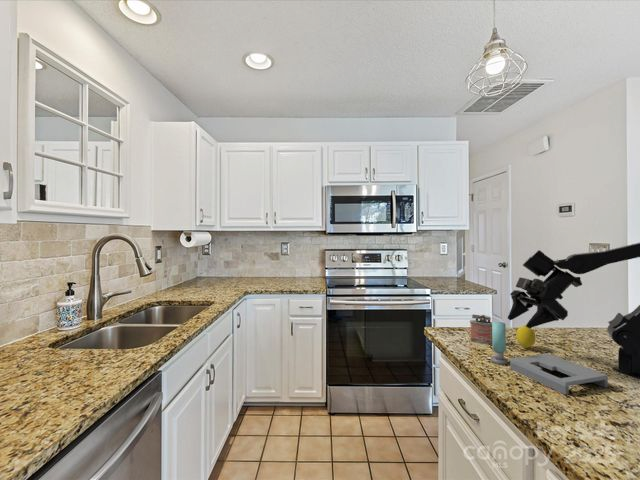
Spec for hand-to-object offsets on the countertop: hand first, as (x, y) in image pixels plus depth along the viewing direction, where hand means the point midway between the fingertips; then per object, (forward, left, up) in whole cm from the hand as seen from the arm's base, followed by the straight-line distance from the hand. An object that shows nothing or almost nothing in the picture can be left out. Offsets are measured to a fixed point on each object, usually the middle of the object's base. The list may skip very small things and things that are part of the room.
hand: (517, 323), depth 97 cm
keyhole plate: (0, +12, -12) cm, 17 cm away
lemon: (-12, -8, -12) cm, 19 cm away
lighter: (-3, -18, -12) cm, 22 cm away
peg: (+6, -1, -12) cm, 13 cm away
